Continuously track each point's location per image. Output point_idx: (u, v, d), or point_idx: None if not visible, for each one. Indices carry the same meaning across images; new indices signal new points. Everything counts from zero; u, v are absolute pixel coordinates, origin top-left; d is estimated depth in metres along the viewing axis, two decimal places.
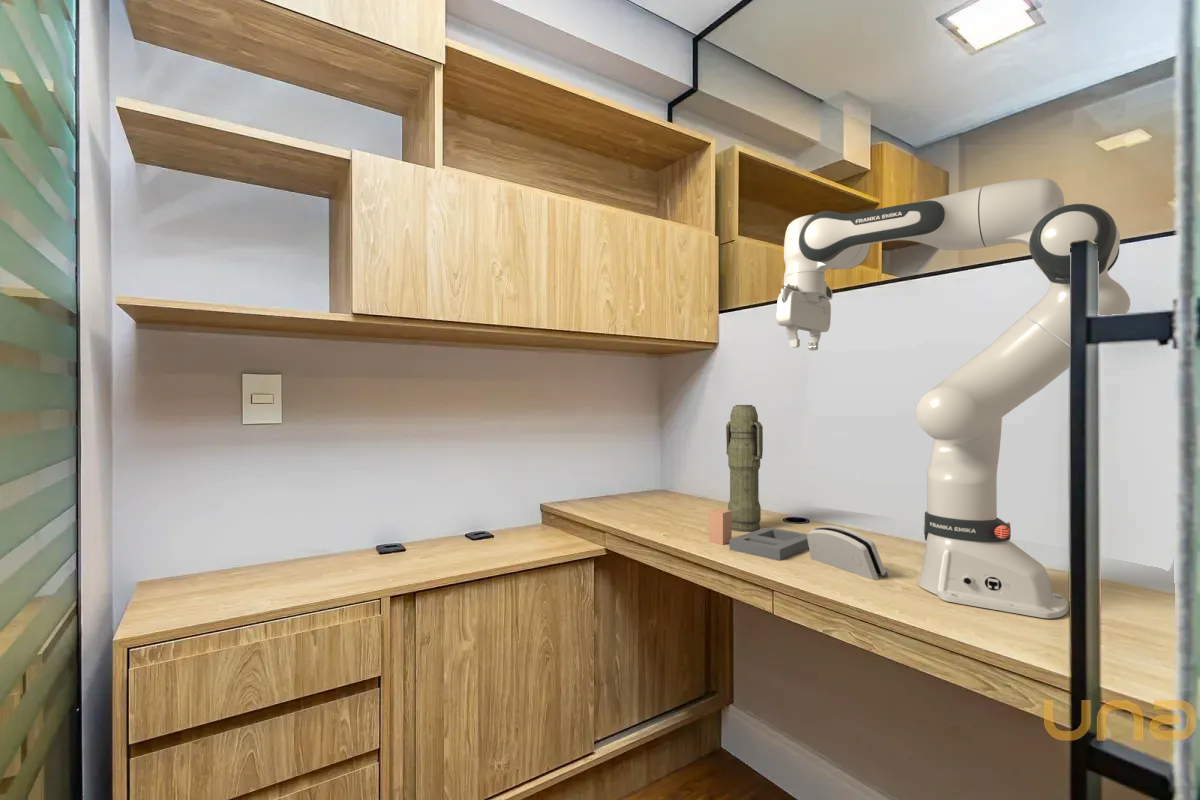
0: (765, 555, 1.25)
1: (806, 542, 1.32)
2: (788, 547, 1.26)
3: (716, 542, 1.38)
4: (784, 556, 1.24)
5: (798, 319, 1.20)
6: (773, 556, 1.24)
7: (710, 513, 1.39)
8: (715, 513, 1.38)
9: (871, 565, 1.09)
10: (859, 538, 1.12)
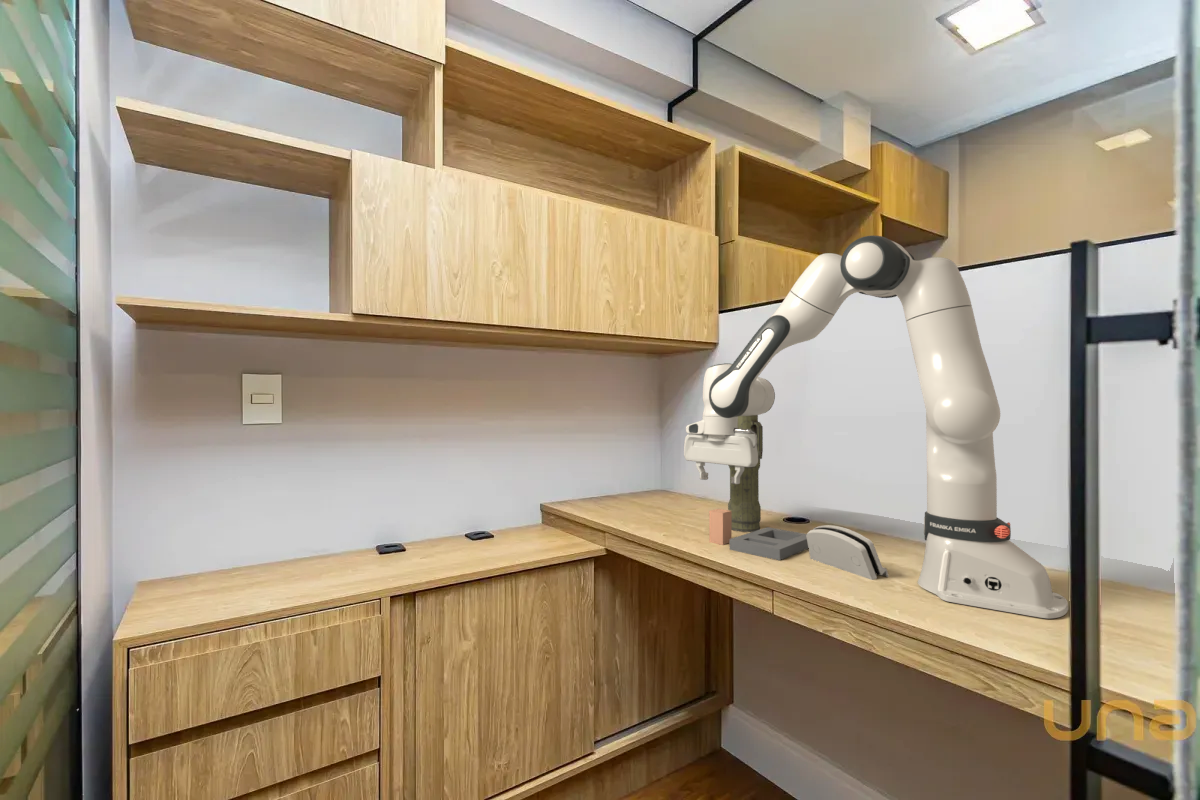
0: (765, 555, 1.25)
1: (806, 542, 1.32)
2: (788, 547, 1.26)
3: (716, 542, 1.38)
4: (784, 556, 1.24)
5: None
6: (773, 556, 1.24)
7: (710, 513, 1.39)
8: (715, 513, 1.38)
9: (869, 565, 1.10)
10: (858, 538, 1.12)
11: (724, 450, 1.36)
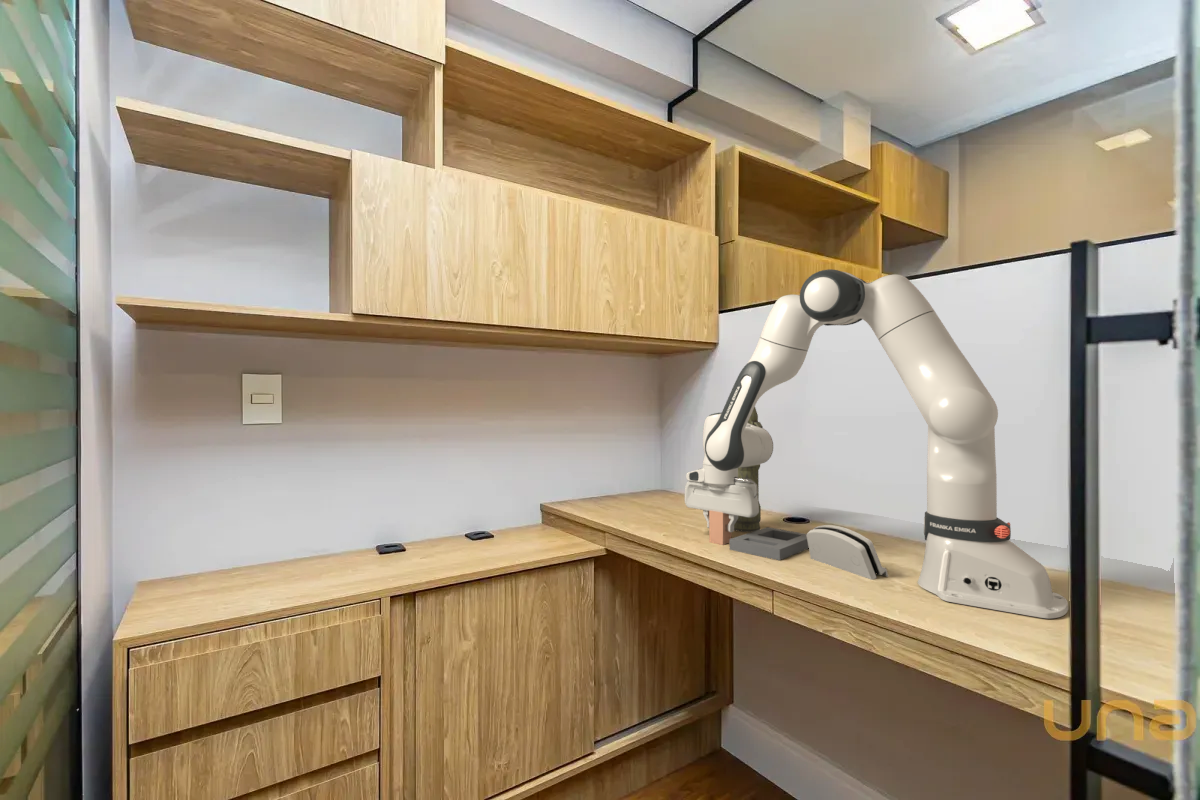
0: (765, 555, 1.25)
1: (806, 542, 1.32)
2: (788, 547, 1.26)
3: (716, 542, 1.38)
4: (784, 556, 1.24)
5: None
6: (773, 556, 1.24)
7: (710, 513, 1.39)
8: (715, 513, 1.38)
9: (869, 565, 1.10)
10: (857, 538, 1.12)
11: (725, 499, 1.36)
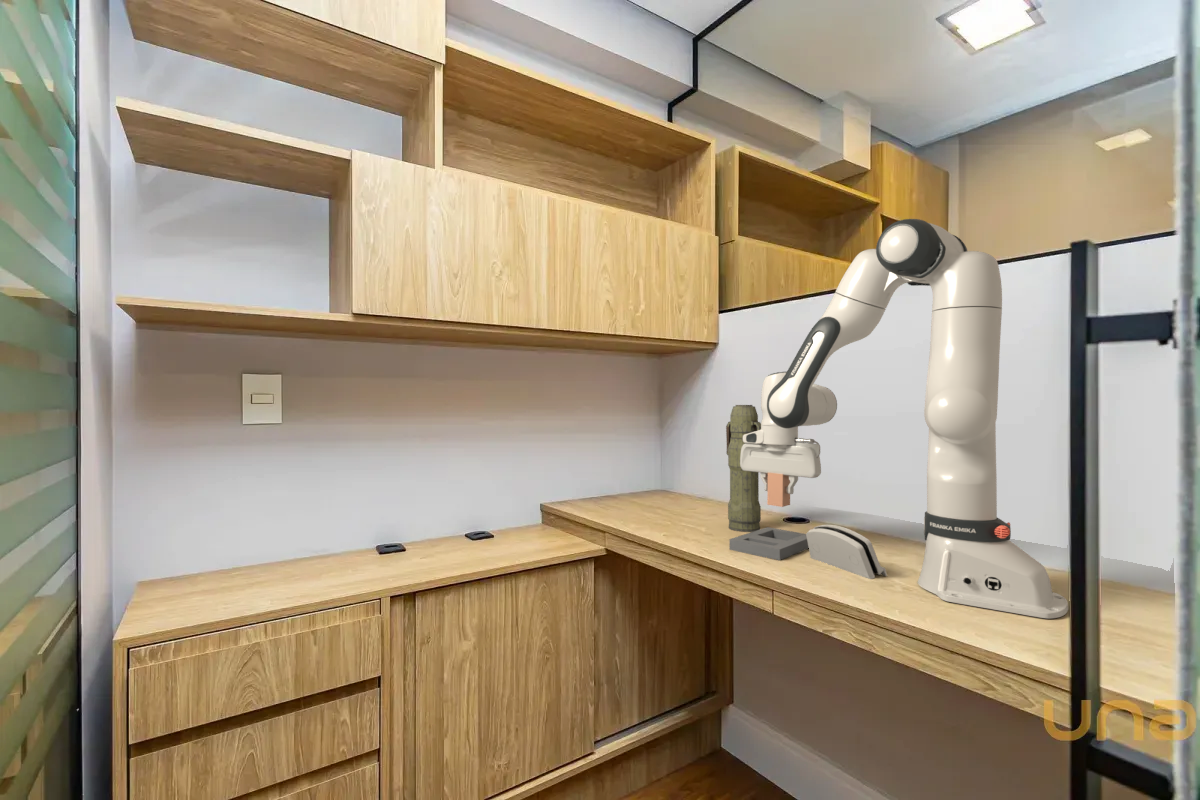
0: (765, 555, 1.25)
1: (806, 542, 1.32)
2: (788, 547, 1.26)
3: (775, 504, 1.35)
4: (784, 556, 1.24)
5: None
6: (773, 556, 1.24)
7: (768, 475, 1.36)
8: (774, 475, 1.35)
9: (867, 564, 1.10)
10: (856, 537, 1.13)
11: (785, 460, 1.33)
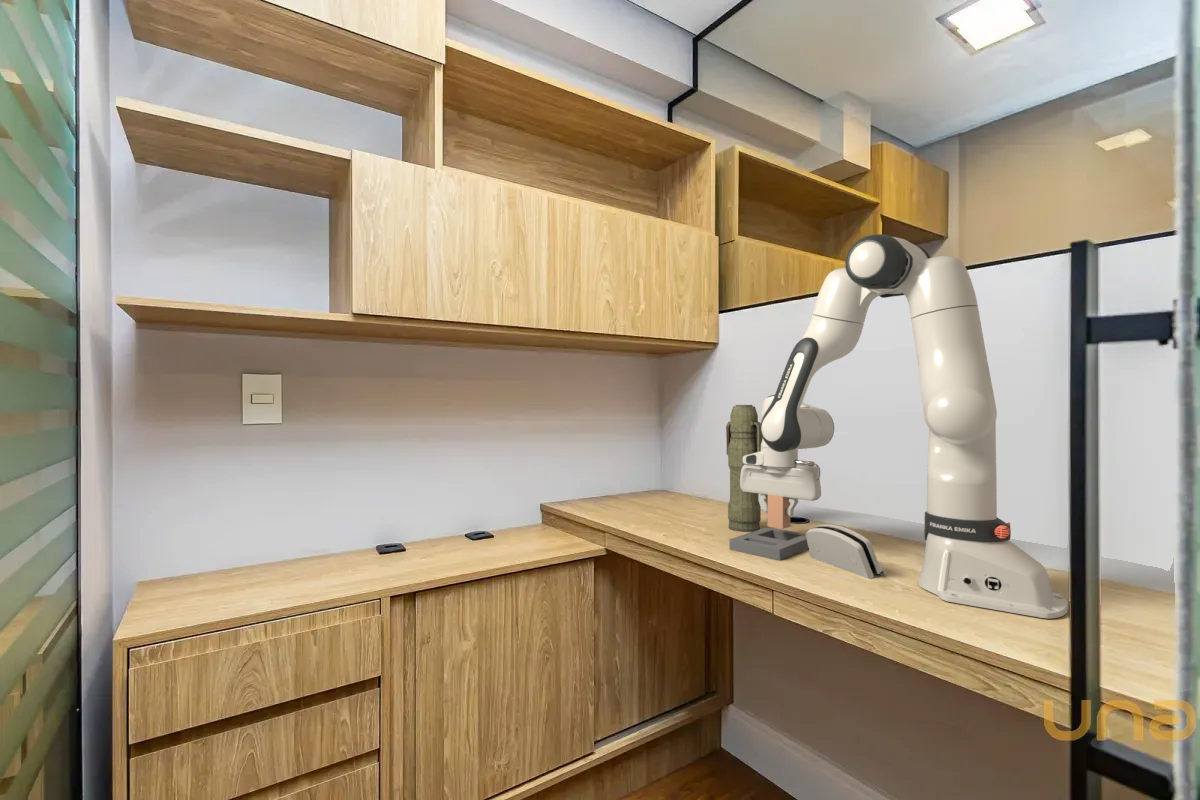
0: (765, 555, 1.25)
1: (806, 542, 1.32)
2: (788, 547, 1.26)
3: (775, 526, 1.35)
4: (784, 556, 1.24)
5: None
6: (773, 556, 1.24)
7: (768, 497, 1.36)
8: (774, 496, 1.35)
9: (866, 564, 1.10)
10: (855, 537, 1.13)
11: (785, 482, 1.33)
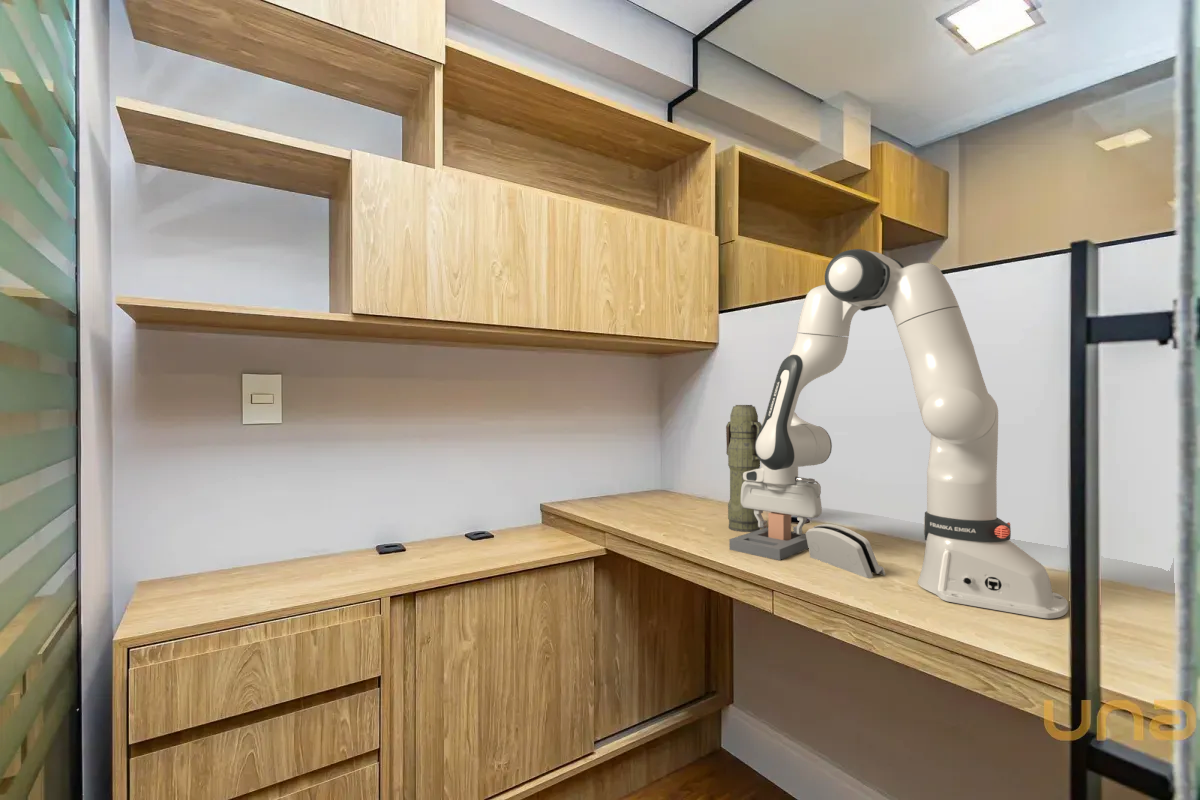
0: (765, 555, 1.25)
1: (806, 542, 1.32)
2: (788, 547, 1.26)
3: None
4: (784, 556, 1.24)
5: None
6: (773, 556, 1.24)
7: (769, 516, 1.36)
8: (775, 515, 1.35)
9: (865, 563, 1.11)
10: (854, 536, 1.13)
11: (786, 499, 1.33)
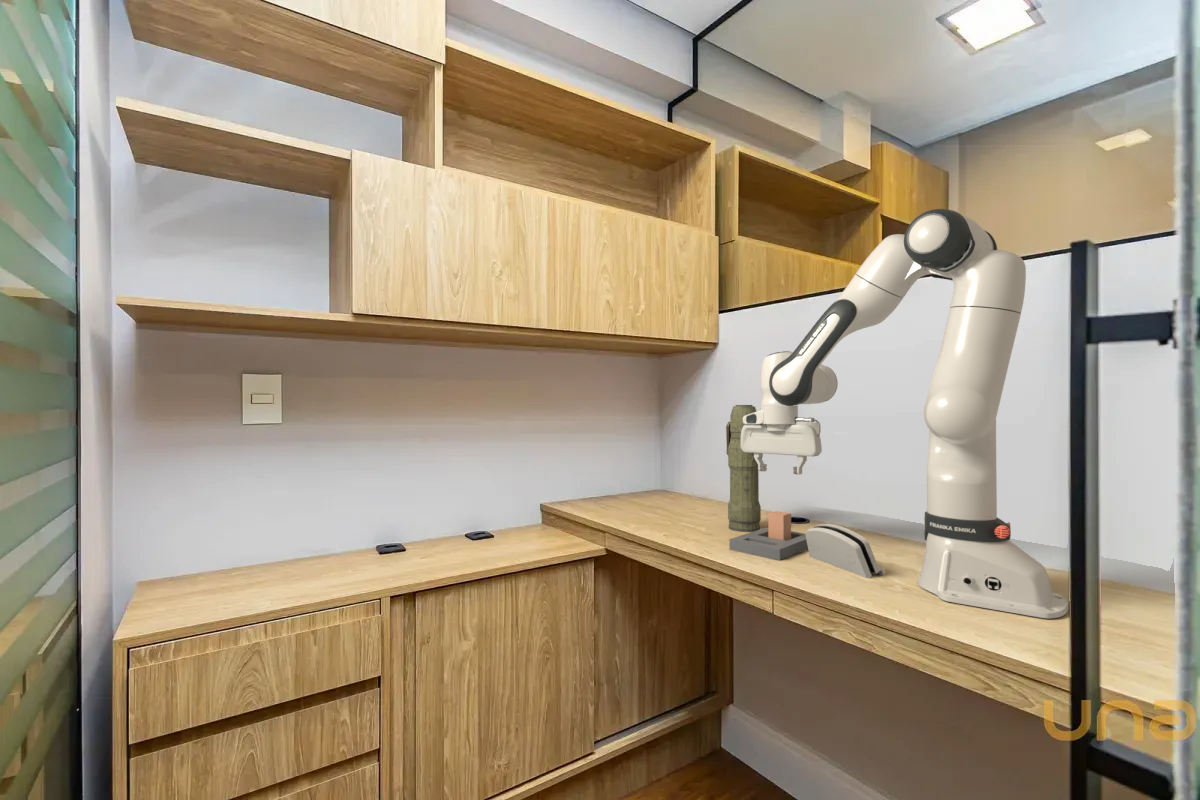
0: (765, 555, 1.25)
1: (806, 542, 1.32)
2: (788, 547, 1.26)
3: None
4: (784, 556, 1.24)
5: None
6: (773, 556, 1.24)
7: (769, 516, 1.36)
8: (775, 515, 1.35)
9: (864, 563, 1.11)
10: (853, 536, 1.13)
11: (786, 440, 1.33)
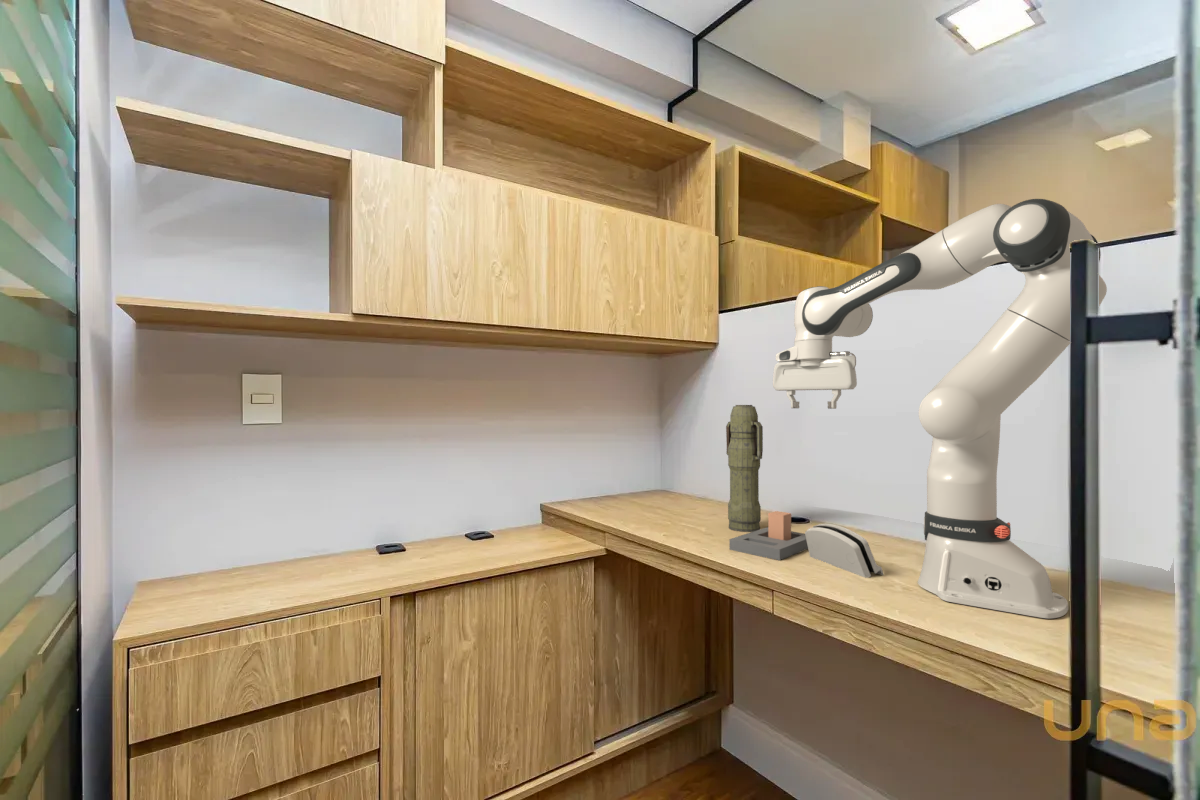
0: (765, 555, 1.25)
1: (806, 542, 1.32)
2: (788, 547, 1.26)
3: None
4: (784, 556, 1.24)
5: None
6: (773, 556, 1.24)
7: (769, 516, 1.36)
8: (775, 515, 1.35)
9: (863, 563, 1.11)
10: (852, 536, 1.14)
11: (820, 375, 1.33)
